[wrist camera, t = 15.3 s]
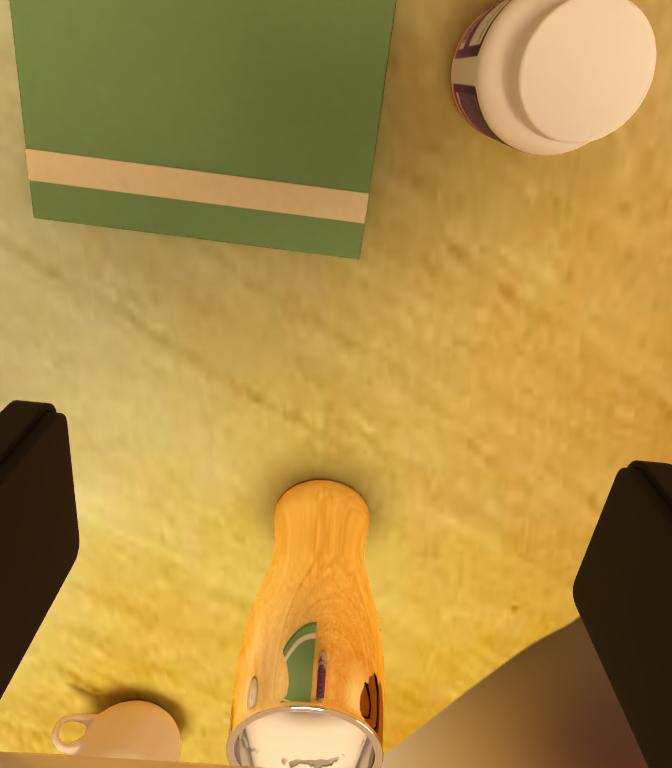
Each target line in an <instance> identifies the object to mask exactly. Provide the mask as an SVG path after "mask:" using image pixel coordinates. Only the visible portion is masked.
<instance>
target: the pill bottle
mask: <svg viewBox="0 0 672 768" xmlns="http://www.w3.org/2000/svg"><path fill="white" fill-rule="evenodd" d="M655 65H656V42H655V37H654V34H653V30H652V27H651V25H650V23H649V21H648V19H647V18H646V16H645V15H644V13H643V12H642V11H641V10H640V9H639V8H638V7H637V6H636V5H635V4H634V3H632V2H631V1H629V0H503V1H501V2H499V3H497V4H495V5H493V6H491V7H490V8H489V9H487V10H486V11H484V12H483V13H482V14H481V15H480V16H478V17H477V18H476V19H475V20H474V21H473V22H472V23H471V25H470V26H469V27H468V28H467V30H466V31H465V33H464V34H463V36H462V38H461V40H460V42H459V44H458V46H457V49H456V51H455V54H454V58H453V62H452V69H451V85H452V92H453V96H454V99H455V102H456V105H457V107H458V109H459V111H460V113H461V114H462V116H463V117H464V118H465V120H466V121H467V122H468V123H469V124H470V125H471V126H472V127H474V128H475V129H476V130H477V131H479V132H481V133H482V134H484V135H487V136H489V137H491V138H493V139H495V140H497V141H499V142H501V143H503V144H506V145H508V146H510V147H512V148H514V149H517V150H519V151H522V152H525V153H529V154H535V155H556V154H562V153H566V152H569V151H572V150H575V149H578V148H580V147H582V146H584V145H586V144H587V143H589V142H591V141H594V140H597V139H600V138H602V137H604V136H606V135H608V134H610V133H612V132H613V131H615V130H616V129H618V128H619V127H620V126H622V125H623V124H624V123H625V122H626V121H627V120H628V119H629V118H630V117H631V116H632V115H633V114H634V112H635V111H636V110H637V109H638V107H639V106H640V105H641V103H642V101H643V100H644V98H645V96H646V94H647V92H648V90H649V87H650V85H651V82H652V79H653V76H654V71H655Z"/></svg>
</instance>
